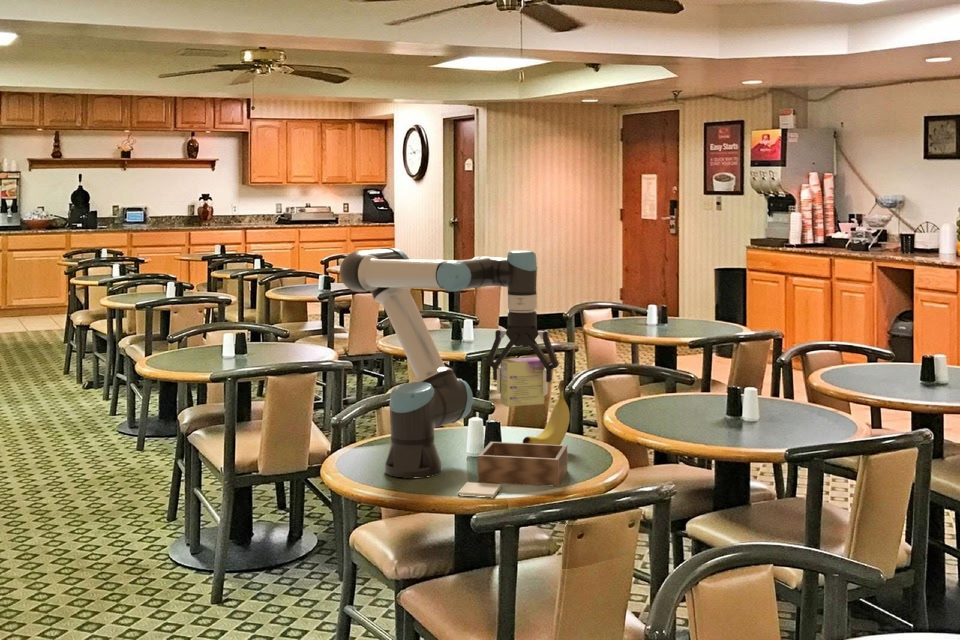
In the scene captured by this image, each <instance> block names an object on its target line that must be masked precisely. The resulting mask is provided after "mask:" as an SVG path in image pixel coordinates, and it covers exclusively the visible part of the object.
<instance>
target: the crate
mask: <svg viewBox="0 0 960 640" xmlns="http://www.w3.org/2000/svg"><path fill="white" fill-rule="evenodd" d="M567 472H568V445H566V444H560V445H551V444H529V443H523V442H507V441H506V442H504V441H489V443H488V444H487V445H486V446H485V447H484V448H483V449H482V450H481V452H480V453H479V454H478V455H477V483H490V484H504V483H505V485H522V486H523V484H525V485H527V486H540V485H553V486H552V487H559V486H560V484H561V483H562V481H563V479H564V477H565V476H564V475H566V474H567ZM560 482H561V483H560Z"/></svg>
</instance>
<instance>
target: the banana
mask: <svg viewBox="0 0 960 640" xmlns="http://www.w3.org/2000/svg"><path fill="white" fill-rule="evenodd" d="M557 389H559V396H558V399H557V402H556V403H555V404H554V405H553V408H552V411H551V412H550V416H549V419H548V421H547V424H546V426H545V427H544V429H543V430H542V432H541V433H540V434H538V435H537V436H525V437H524V438H523V440H522V443H529V444H551V445H562V443H563V440H564V439H565V436H566V434H567V431H568V428H569V424H570V421H571V420H570V408H569V406H568V404H567V402H566V399H565V398H564V390H565V380H564V379H561V380H559V383H558V386H557Z"/></svg>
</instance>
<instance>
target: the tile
mask: <svg viewBox="0 0 960 640" xmlns="http://www.w3.org/2000/svg"><path fill="white" fill-rule="evenodd" d="M501 489H502V483H486V482H469V481H466V483H465V484H464V485H463V486H462V487H461V488H460V490H459V491H457V495H458V494H461V495H462V494H463V495H475V496H485V497H494V496H495V495H497V494H498V493H499V492H500V490H501ZM498 491H499V492H498ZM497 492H498V493H497ZM495 497H496V496H495ZM495 497H494V498H495Z"/></svg>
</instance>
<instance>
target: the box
mask: <svg viewBox="0 0 960 640" xmlns="http://www.w3.org/2000/svg"><path fill="white" fill-rule="evenodd" d="M499 367H500V393H499V394H500V404H501V405H504V406H506V407H507V408H508V407H519V406H522V407H523V406H535V405H540V406H541V405H545V395H543V370H544V369H545V367H544V365H543V364H542V362H541V361H540V359H539V358H538V356H535V357H518V358H514V357H513V358H504V359H502V361H501V363H500V365H499Z"/></svg>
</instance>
